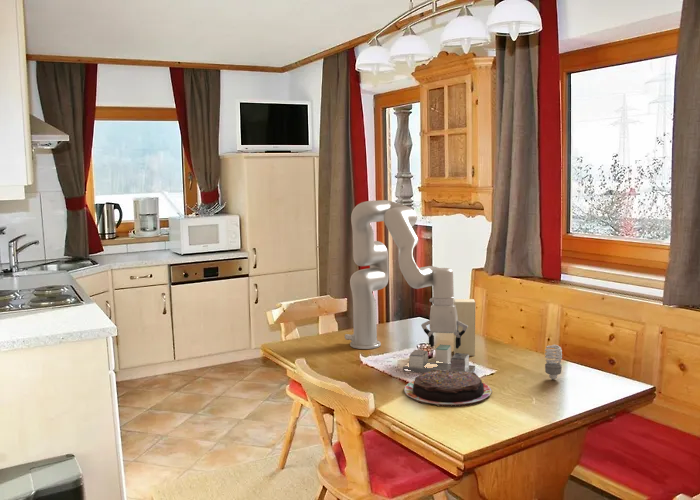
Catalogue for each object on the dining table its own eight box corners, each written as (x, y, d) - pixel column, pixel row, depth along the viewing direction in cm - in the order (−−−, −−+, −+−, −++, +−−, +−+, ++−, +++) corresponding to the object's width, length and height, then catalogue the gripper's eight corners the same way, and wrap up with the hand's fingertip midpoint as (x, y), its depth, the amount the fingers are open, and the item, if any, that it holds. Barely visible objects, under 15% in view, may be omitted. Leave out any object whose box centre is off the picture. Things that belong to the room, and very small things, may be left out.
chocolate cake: (401, 380, 228) (401, 361, 227) (483, 379, 227) (483, 360, 226) (406, 409, 200) (406, 388, 200) (499, 408, 199) (499, 387, 199)
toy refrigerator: (473, 350, 262) (473, 298, 259) (475, 355, 255) (475, 302, 252) (453, 350, 263) (453, 298, 260) (454, 355, 255) (454, 302, 253)
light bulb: (562, 377, 226) (562, 343, 224) (561, 382, 220) (562, 347, 219) (544, 376, 227) (545, 342, 226) (544, 381, 222) (544, 346, 221)
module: (435, 364, 245) (435, 348, 245) (439, 359, 251) (439, 344, 251) (447, 365, 244) (447, 349, 243) (451, 360, 250) (451, 345, 249)
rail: (403, 371, 237) (403, 354, 236) (410, 364, 245) (410, 348, 245) (470, 377, 228) (470, 360, 228) (475, 369, 237) (475, 353, 236)
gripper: (418, 302, 244) (419, 348, 246) (464, 304, 238) (466, 350, 240) (423, 299, 251) (424, 343, 253) (468, 300, 245) (470, 345, 247)
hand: (444, 347), depth 246 cm, fingers open, 9 cm apart
